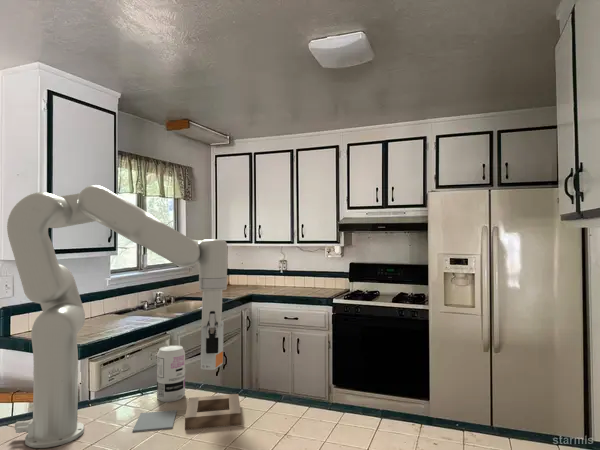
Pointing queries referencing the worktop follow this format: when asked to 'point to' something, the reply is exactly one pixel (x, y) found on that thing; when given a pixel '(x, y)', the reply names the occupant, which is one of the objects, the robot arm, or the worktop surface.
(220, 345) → the skincare box
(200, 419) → the holder block
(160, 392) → the supplement can
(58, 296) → the robot arm
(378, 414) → the worktop surface
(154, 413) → the rubber mat
